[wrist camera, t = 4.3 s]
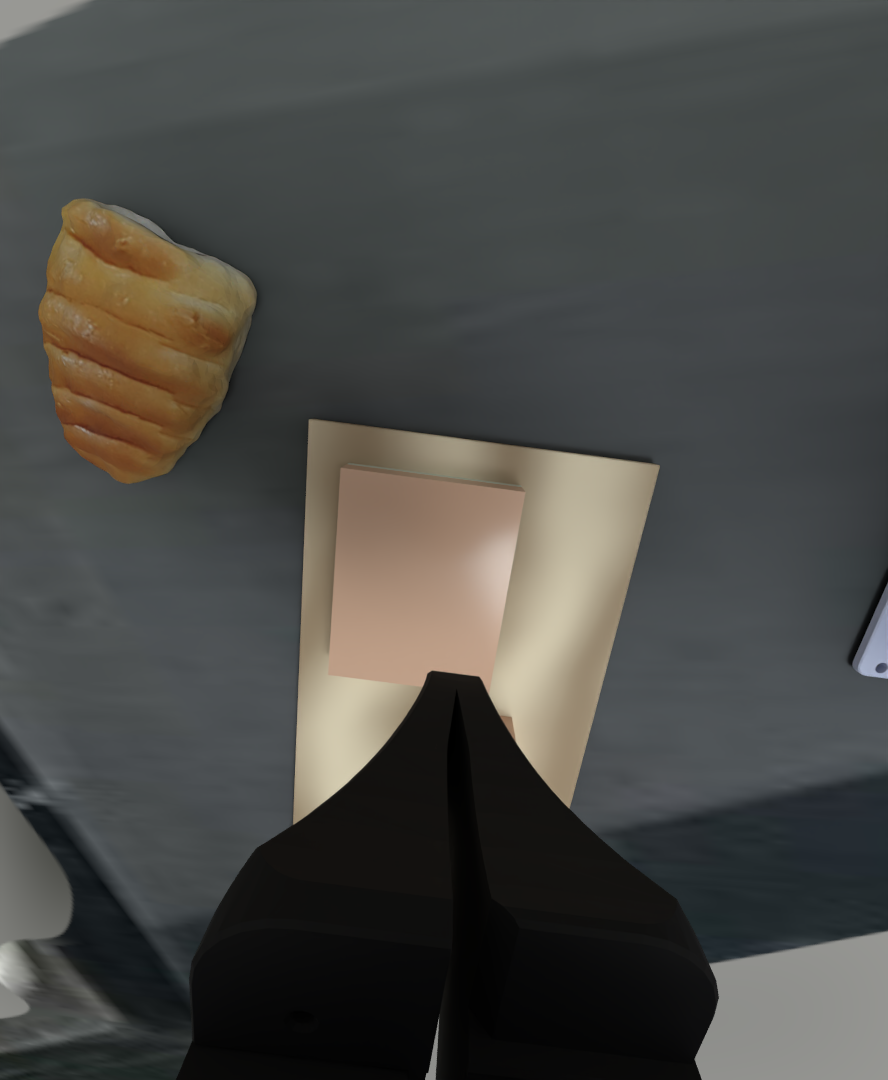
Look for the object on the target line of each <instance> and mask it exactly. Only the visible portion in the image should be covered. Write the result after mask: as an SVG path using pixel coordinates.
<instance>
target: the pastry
mask: <svg viewBox="0 0 888 1080" xmlns="http://www.w3.org/2000/svg"><path fill="white" fill-rule="evenodd" d="M62 218H63V226H62V229H61V232H60V234H59V236H58V238H57V240H56V242H55V244H54V246H53V249H52V252H51V255H50V257H49V260H48V266H47V272H46V275H47V281H48V283H47V291H46V293H45V295H44V297H43V299H42V301H41V303H40V305H39V311H38V314H39V320H40V322H41V324H42V330H43V342H44V349H45V351H46V353H47V355H48V357H49V378H50V380H51V381H52V387H51V389H52V393H53V396H54V399H55V403H56V404H55V406H56V413H57V416H58V418H59V419H60V421H61V424H62V426H63V429H64V437H65V439H66V440H67V442H68V443H69V444H70V445H71V446H72V447H73V448H74V449H75V450H76V451H77V452H78V453H79V454H80V455H81V456H82V457H83V458H85V459H86V460H88V461H89V462H91V463H92V464H94V465H95V466H97V467H99V468H100V469H102V470H104V471H106V472H108V473H109V474H110V475H111V476H112V477H113V478H114V479H116V480H117V481H120V482H122V483H127V484H129V483H137V482H141V481H144V480H147V479H150V478H153V477H158V476H161V475H164V474H167V473H168V472H169V471H171V470H172V469H173V467H174V465H175V464H176V462H177V460H178V459H179V458H180V457H181V456H182V455H183V454H184V453H185V451H186V449H187V447H188V446H190V445H191V444H192V443H194V442H195V441H196V440H198V438H199V436H200V434H201V432H202V430H203V428H204V427H205V425H206V423H207V422H208V421H209V420H210V419H211V418H212V417H213V416H214V415H215V414H217V413H218V412H219V411H220V410H221V407H222V402H223V400H224V398H225V396H226V393H227V391H228V387H229V381H230V378H231V375H232V372H233V370H234V368H235V366H236V364H237V362H238V360H239V358H240V356H241V354H242V350H243V347H244V344H245V342H246V338H247V334H248V331H249V328H250V326H251V320H252V314H253V312H254V309H255V306H256V298H257V292H256V289H255V287H254V285H253V283H252V281H251V280H250V278H249V277H248V276H247V275H245V274H244V273H242V272H241V271H239V270H237V269H235V268H233V267H232V266H230V265H229V264H227V263H224V262H222V261H221V260H219V259H217V258H215V257H212V256H209V255H206V254H203V253H200V252H198V251H197V250H195V249H193V248H188V247H186V246H183V245H179V244H177V243H174V242H173V241H172V240H171V239H170V238H169V237H168V236H167V235H166V234H165V232H164V231H163V230H162V229H161V228H160V227H158V226H157V225H156V224H155V223H153V222H152V221H150V220H149V219H147V218H144V217H141V216H139V215H137V214H135V213H134V212H132V211H130V210H127V209H124V208H122V207H119V206H116V205H106V204H103V203H101V202H97V201H94V200H92V199H76V200H73V201H71V202H70V203H69V204H67V205H66V206H65V207H63V208H62Z"/></svg>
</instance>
